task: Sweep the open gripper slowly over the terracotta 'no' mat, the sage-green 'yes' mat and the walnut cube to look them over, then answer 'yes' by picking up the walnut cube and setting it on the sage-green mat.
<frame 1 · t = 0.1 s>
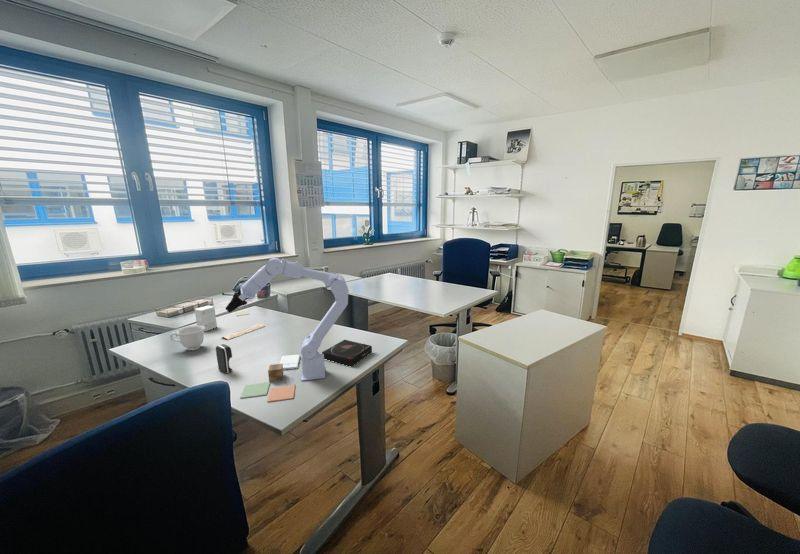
hand: (230, 307, 121), 32 cm above the table, tool tilted 50°, fingers open, 7 cm apart
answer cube: (276, 378, 132), on the table
small box: (207, 329, 189), on the table
wooden plank: (243, 333, 183), on the table
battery: (226, 370, 139), on the table
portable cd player: (347, 357, 152), on the table
external hard drive: (289, 364, 145), on the table
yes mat: (255, 390, 123), on the table
teacup: (190, 349, 161), on the table
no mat: (281, 393, 121), on the table
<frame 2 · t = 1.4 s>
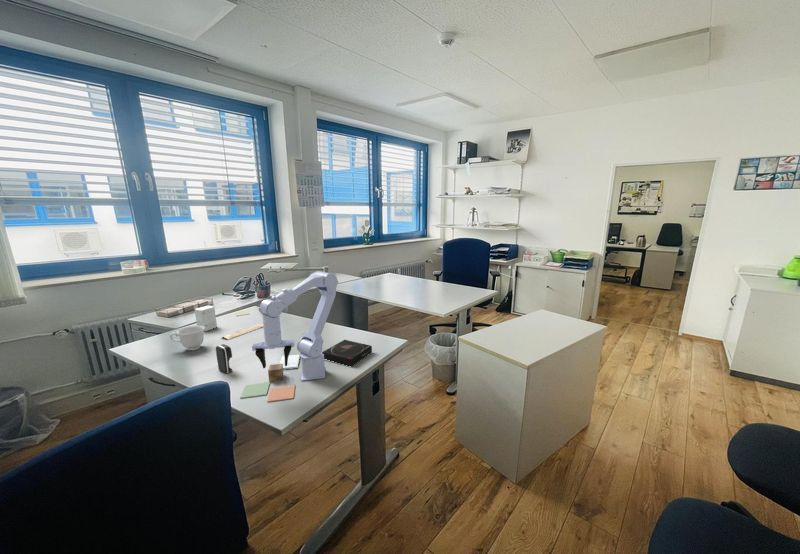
hand: (275, 365, 121), 10 cm above the table, tool pointing down, fingers open, 7 cm apart
nothing on the table moved.
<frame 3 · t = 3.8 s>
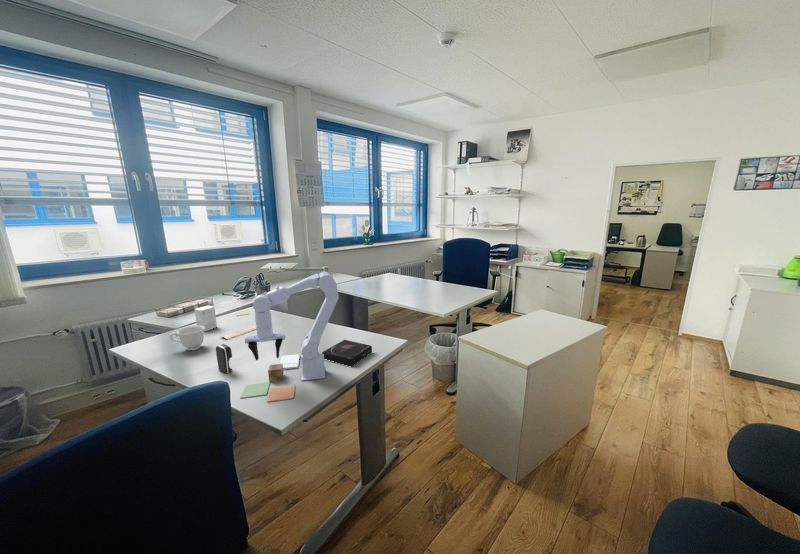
hand: (267, 358, 127), 10 cm above the table, tool pointing down, fingers open, 7 cm apart
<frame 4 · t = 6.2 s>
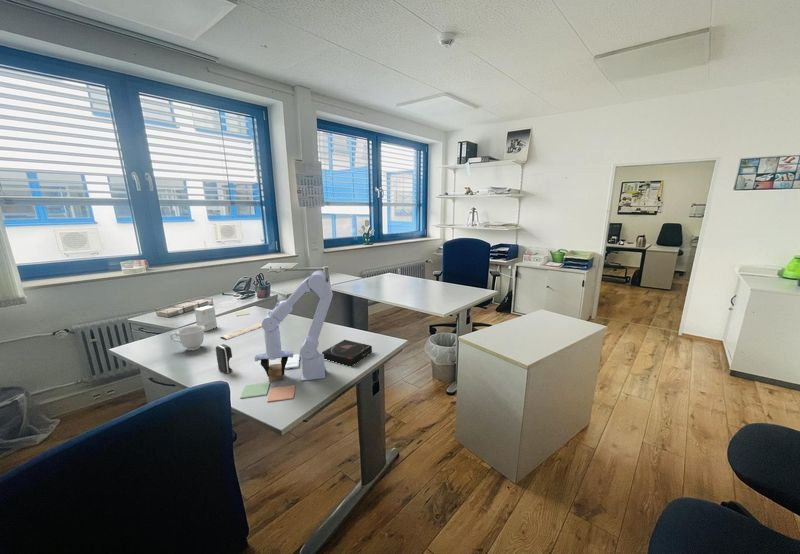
hand: (276, 374, 132), 1 cm above the table, tool pointing down, fingers closed on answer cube, 5 cm apart
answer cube: (276, 377, 132), on the table, touching gripper
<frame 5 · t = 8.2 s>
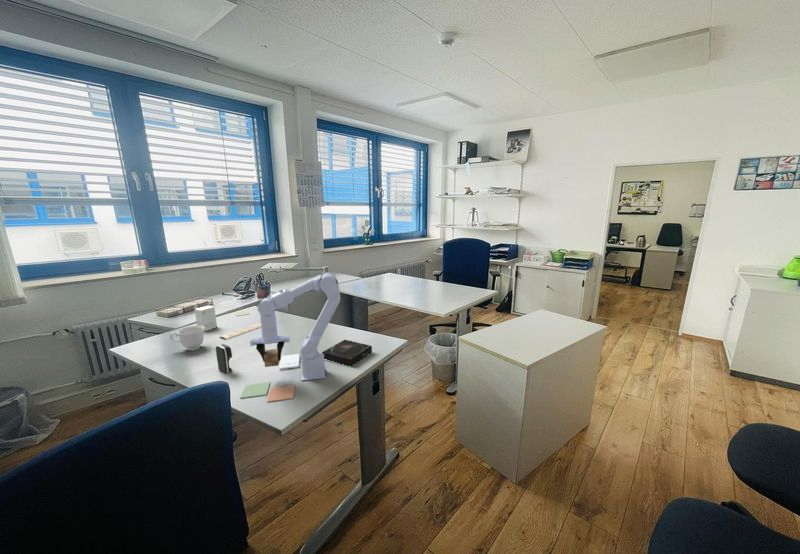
hand: (272, 360, 130), 8 cm above the table, tool pointing down, fingers closed on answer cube, 5 cm apart
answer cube: (272, 363, 130), point 7 cm above the table, touching gripper
when the fingers open (3 cm above the table, at t = 10.5 s): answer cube drops 2 cm, resting on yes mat.
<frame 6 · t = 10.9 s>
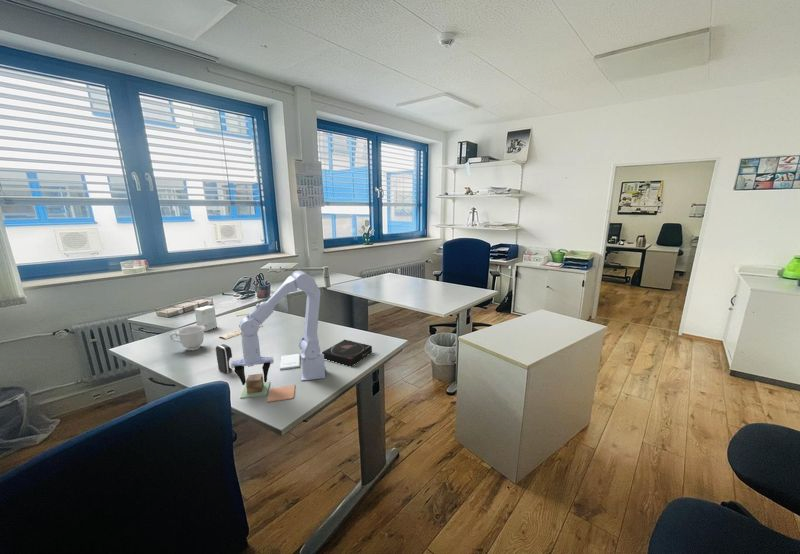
hand: (255, 382, 123), 3 cm above the table, tool pointing down, fingers open, 7 cm apart
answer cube: (255, 389, 123), resting on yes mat
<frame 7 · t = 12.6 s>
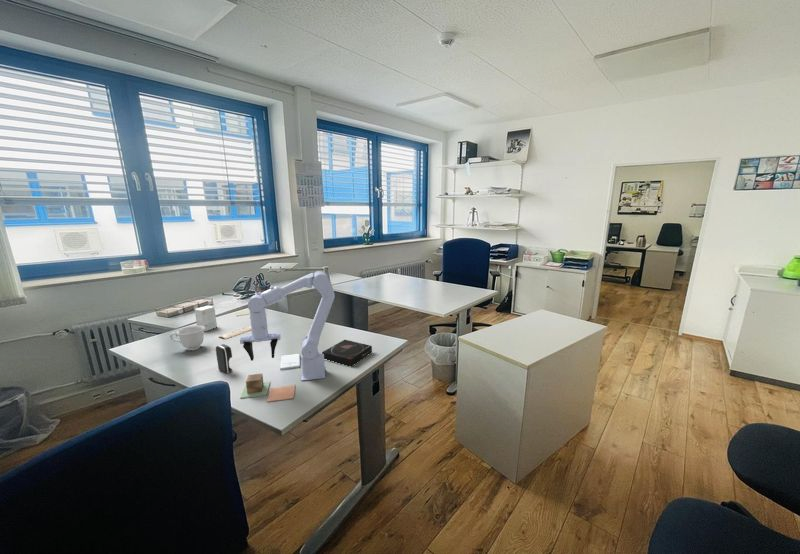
hand: (262, 358, 127), 10 cm above the table, tool pointing down, fingers open, 7 cm apart
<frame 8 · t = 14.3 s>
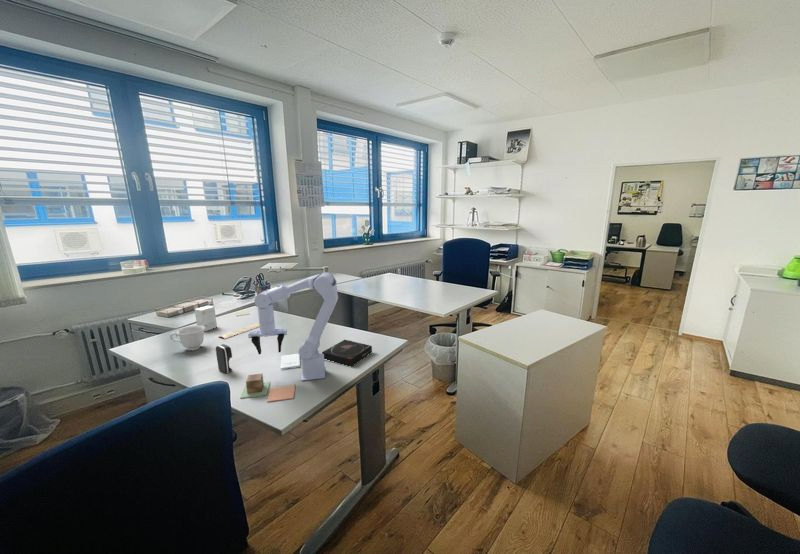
hand: (269, 352, 132), 10 cm above the table, tool pointing down, fingers open, 7 cm apart
at the end: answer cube 0.1 cm off-centre on the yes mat, point 0.4 cm above the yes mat's base; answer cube tilted 0°; the gripper is holding nothing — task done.
